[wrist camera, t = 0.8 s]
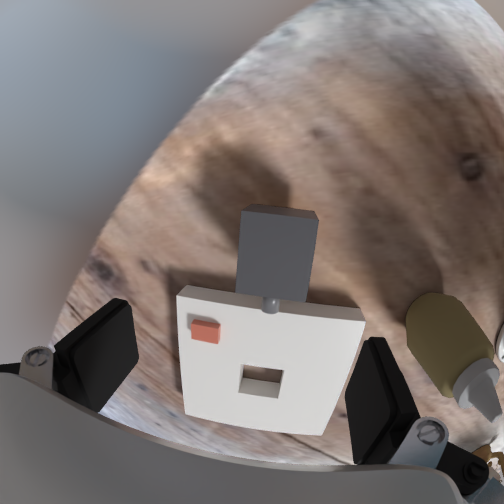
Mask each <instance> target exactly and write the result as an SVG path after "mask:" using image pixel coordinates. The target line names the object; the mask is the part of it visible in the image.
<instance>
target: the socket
mask: <svg viewBox="0 0 504 504" xmlns="http://www.w3.org/2000/svg"><path fill="white" fill-rule="evenodd" d="M176 297H177V323H178V341H179V355H180V368H181V379H182V389H183V398H184V407H185V414H187V415H191V416H195V417H199V418H203V419H207V420H211V421H216V422H220V423H225V424H230V425H235V426H241V427H246V428H253V429H259V430H266V431H274V432H283V433H293V434H305V435H322V434H323V431H324V429H325V427H326V425H327V423H328V421H329V419H330V417H331V414H332V412H333V410H334V408H335V405H336V403H337V401H338V398H339V396H340V393H341V391H342V389H343V386H344V384H345V381H346V378H347V376H348V373H349V371H350V368H351V365H352V362H353V360H354V357H355V354H356V351H357V348H358V345H359V342H360V339H361V336H362V333H363V330H364V327H365V323H366V320H365V318H364V316H363V313H362V311H361V309H360V308H351V307H341V306H332V305H323V304H315V303H306V302H298V301H290V300H282V299H280V305H279V311H278V313H276V314H267V313H264V312H262V310H261V304H262V297H260V296H253V295H247V294H240V293H233V292H227V291H221V290H214V289H208V288H202V287H196V286H190V285H186V286H185V287H184V288H183V289H182V290H181V291H180V292H179V293H178V294H177V295H176ZM244 364H245V365H251V366H258V367H264V368H271V369H279V370H282V375H281V380H280V383H275V382H268V381H261V380H255V379H248V378H243V368H244Z"/></svg>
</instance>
